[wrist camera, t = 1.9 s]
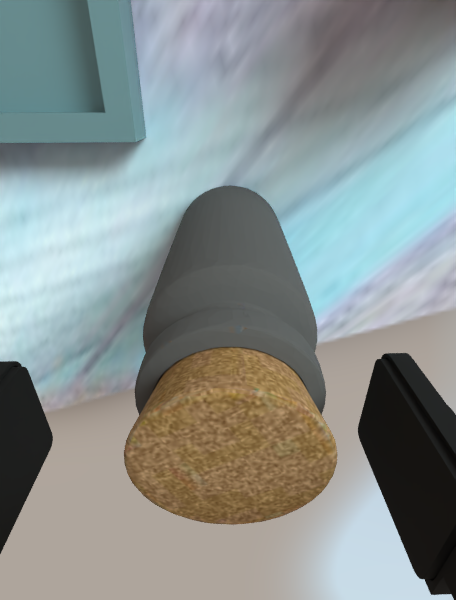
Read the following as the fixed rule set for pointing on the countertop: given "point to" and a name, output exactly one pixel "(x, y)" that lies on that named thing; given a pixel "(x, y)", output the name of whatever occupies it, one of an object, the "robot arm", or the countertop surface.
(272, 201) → the countertop surface
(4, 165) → the countertop surface
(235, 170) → the countertop surface
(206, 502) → the bottle
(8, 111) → the tray
